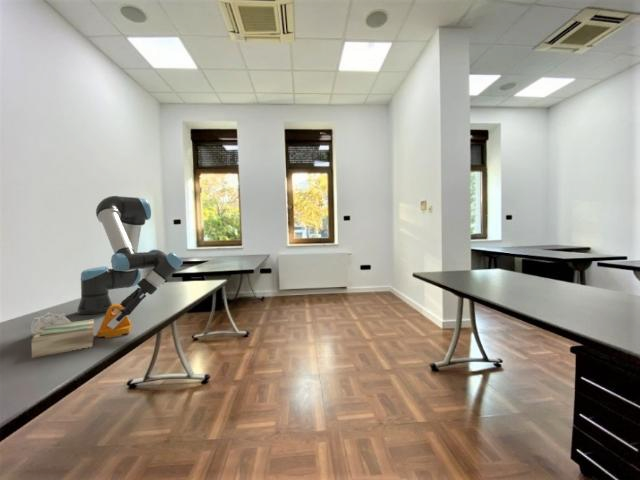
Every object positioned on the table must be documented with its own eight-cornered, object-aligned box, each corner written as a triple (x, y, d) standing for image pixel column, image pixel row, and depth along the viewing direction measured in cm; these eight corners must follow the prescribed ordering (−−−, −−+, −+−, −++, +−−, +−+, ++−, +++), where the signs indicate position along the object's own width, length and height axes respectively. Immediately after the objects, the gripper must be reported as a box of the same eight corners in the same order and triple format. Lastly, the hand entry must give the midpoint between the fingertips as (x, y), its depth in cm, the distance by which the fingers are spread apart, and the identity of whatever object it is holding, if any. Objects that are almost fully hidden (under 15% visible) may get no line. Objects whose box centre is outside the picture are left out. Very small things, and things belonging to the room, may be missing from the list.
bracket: (96, 339, 115) (96, 309, 115) (100, 333, 121) (100, 305, 121) (129, 334, 120) (128, 306, 119) (131, 329, 126) (130, 302, 126)
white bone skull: (65, 319, 131) (68, 307, 126) (68, 336, 127) (71, 324, 122) (28, 326, 121) (29, 313, 117) (30, 344, 118) (31, 332, 113)
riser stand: (41, 341, 112) (41, 325, 112) (94, 333, 121) (94, 318, 121) (31, 358, 97) (31, 339, 97) (92, 346, 107) (91, 329, 106)
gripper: (162, 292, 119) (118, 336, 111) (154, 284, 139) (117, 320, 131) (147, 281, 116) (101, 325, 108) (141, 274, 136) (102, 310, 128)
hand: (109, 322), depth 119 cm, fingers open, 13 cm apart
